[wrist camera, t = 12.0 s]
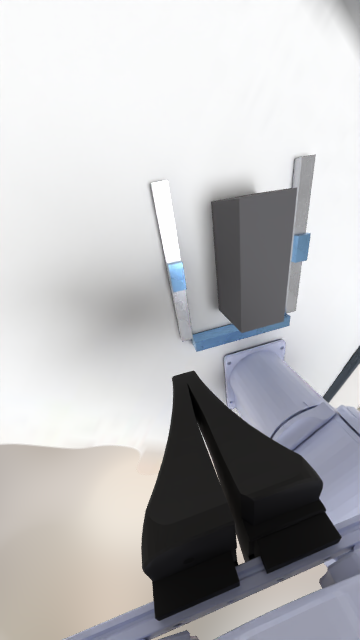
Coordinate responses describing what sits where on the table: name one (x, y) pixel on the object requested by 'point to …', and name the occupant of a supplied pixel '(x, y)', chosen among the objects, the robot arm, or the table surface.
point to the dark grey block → (253, 256)
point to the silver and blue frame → (176, 271)
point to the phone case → (346, 385)
